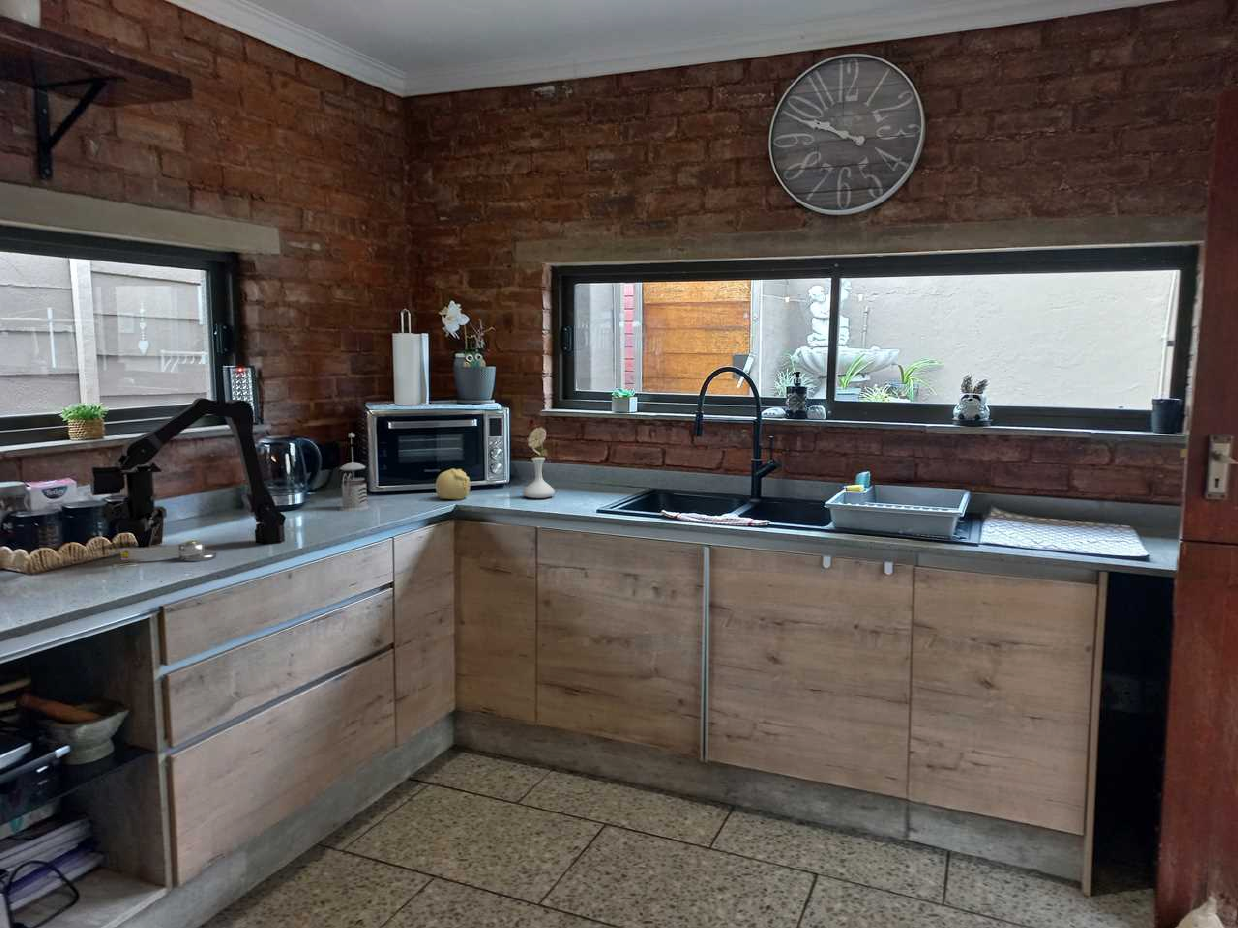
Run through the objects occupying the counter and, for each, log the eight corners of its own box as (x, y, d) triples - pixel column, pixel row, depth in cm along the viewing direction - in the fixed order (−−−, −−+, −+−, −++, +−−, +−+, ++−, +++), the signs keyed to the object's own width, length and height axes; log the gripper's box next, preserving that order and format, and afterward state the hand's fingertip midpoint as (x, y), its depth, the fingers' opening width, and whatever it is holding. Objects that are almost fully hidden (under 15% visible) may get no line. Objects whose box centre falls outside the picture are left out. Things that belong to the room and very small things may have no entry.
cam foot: (218, 552, 220) (217, 537, 220) (213, 560, 213) (212, 544, 212) (125, 559, 214) (124, 543, 214) (117, 566, 207) (115, 550, 206)
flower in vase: (518, 496, 308) (516, 426, 305) (548, 493, 313) (547, 424, 309) (530, 501, 296) (529, 429, 293) (561, 499, 301) (560, 427, 298)
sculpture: (472, 500, 299) (471, 469, 298) (436, 502, 297) (435, 471, 295) (470, 495, 310) (469, 465, 309) (436, 496, 308) (434, 466, 306)
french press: (374, 505, 291) (371, 431, 288) (361, 512, 280) (357, 435, 276) (346, 505, 292) (343, 431, 289) (332, 511, 280) (328, 435, 277)
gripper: (117, 485, 218) (121, 545, 221) (89, 499, 200) (94, 564, 203) (165, 484, 221) (169, 544, 223) (142, 497, 203) (146, 562, 205)
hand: (144, 553), depth 213 cm, fingers closed
